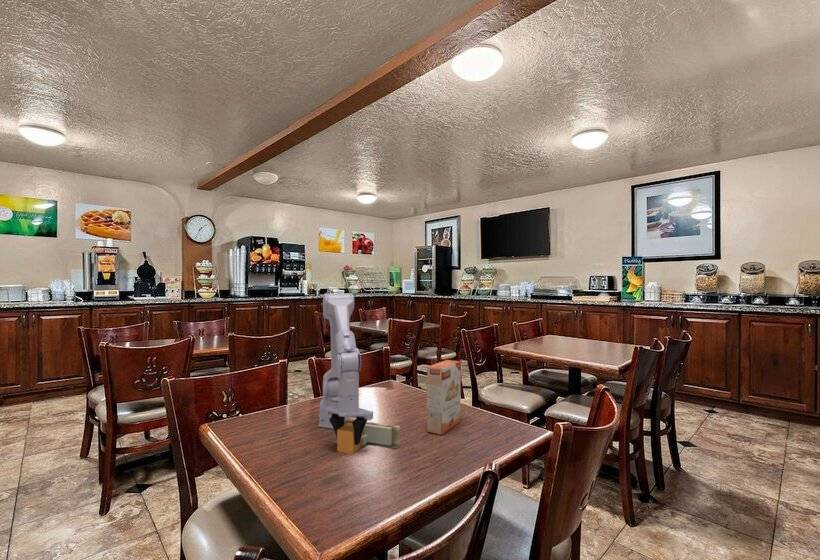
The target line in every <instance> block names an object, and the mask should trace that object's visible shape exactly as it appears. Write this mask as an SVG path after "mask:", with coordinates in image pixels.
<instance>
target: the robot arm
mask: <svg viewBox="0 0 820 560" xmlns="http://www.w3.org/2000/svg"><path fill="white" fill-rule="evenodd" d="M354 310H355V295H354V294H353V293H352V292H349V293H327V292H326V293H324V294H323V297H322V311H323V312H322V315H323V318H324V319H325V320H328V322H329V326H330V359H331V360H330V367H331V368H330V369H329V370H327V372H325V373H324V374H323V376H322V399H321V400H320V403H319V407H318V408H319V411H318V413H319V415H318V416H319V417H318V419H319V420H318V422H319V424H317V426H318V427H319V428H325V429H326V428H327V429H333V430H334V433H335V436H336V438H337V430H338V429H339V428H341V427H342V426H344V420H345V419H350V418H354V419H353V420H354V421H352V424H353V428H354V442H355V445H358V444H359V443H360V440H361V436H362V432H363V429H364V426H365V424H366V422H371V421H372V420H373V419H374V411H372V410H368V409H365V408H364V409H363V408H362V407H359V406H360V404H359V403H360V402H359V401H360V399H359V396H360V393H359V392H360V388H359V387H360V385H359V383H360V382H359V381H360V380H359V379H360V375H359V374H360V373H359V372H361V371H362V370H361V368H362V358H361V353H360V351H359V348H357V344H356V337H355V333H354V332H353V331H352V330H350V318H351V316H352V314H353V312H354Z"/></svg>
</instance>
